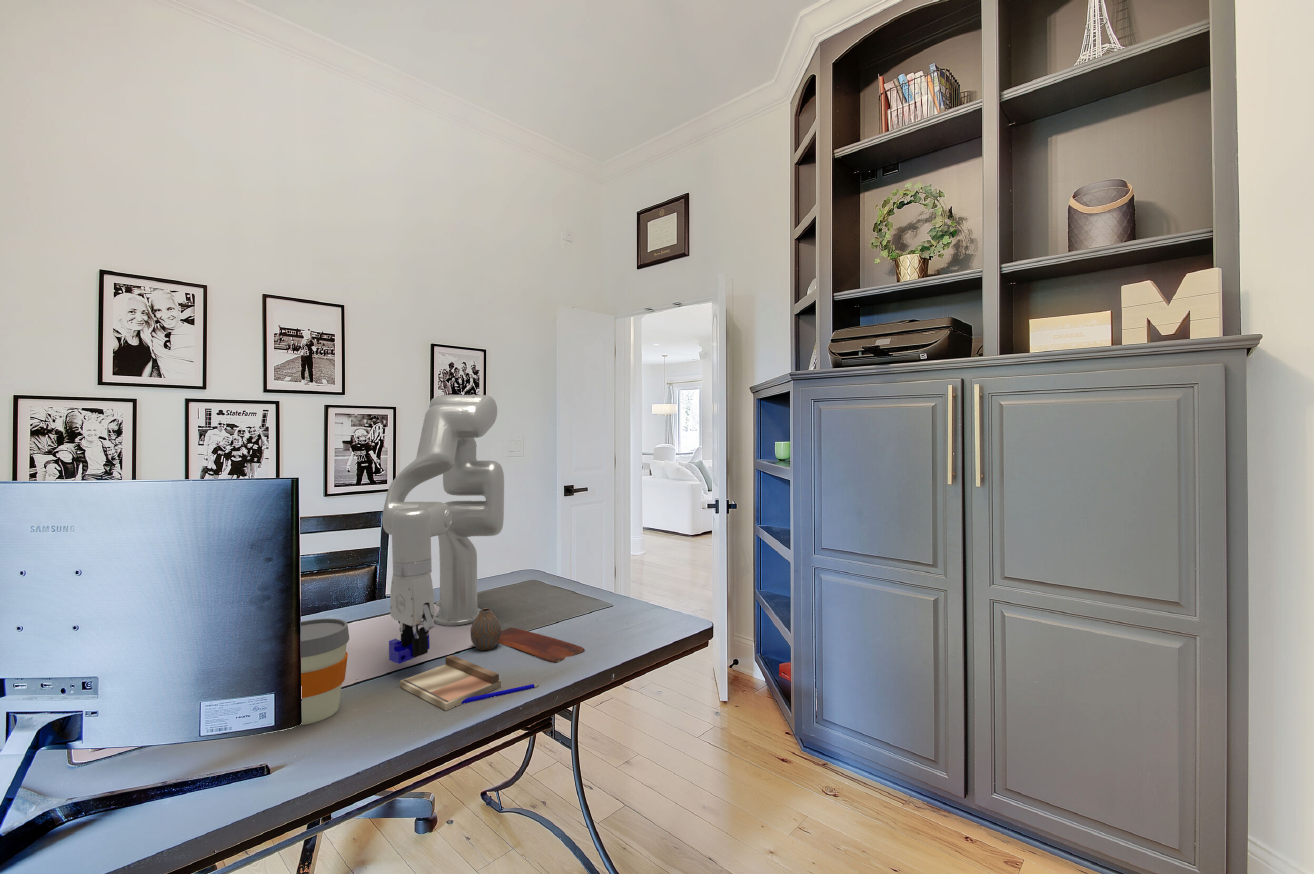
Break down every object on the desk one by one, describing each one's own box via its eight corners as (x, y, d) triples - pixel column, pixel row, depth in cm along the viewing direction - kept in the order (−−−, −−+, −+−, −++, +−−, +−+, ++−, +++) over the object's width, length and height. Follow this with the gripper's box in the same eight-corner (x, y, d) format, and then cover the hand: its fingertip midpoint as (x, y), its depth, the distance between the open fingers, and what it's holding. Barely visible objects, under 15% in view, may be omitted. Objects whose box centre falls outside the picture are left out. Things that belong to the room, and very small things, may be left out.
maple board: (399, 686, 112) (399, 673, 112) (454, 666, 122) (453, 653, 122) (445, 710, 103) (445, 695, 103) (500, 686, 112) (500, 673, 112)
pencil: (448, 708, 104) (448, 703, 104) (448, 706, 105) (448, 700, 105) (539, 688, 112) (539, 683, 112) (538, 686, 113) (538, 681, 113)
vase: (507, 646, 133) (506, 609, 133) (480, 655, 128) (479, 616, 128) (491, 639, 138) (491, 603, 138) (465, 647, 133) (464, 609, 133)
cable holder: (398, 664, 116) (398, 644, 116) (389, 659, 118) (388, 640, 118) (433, 650, 123) (433, 632, 122) (424, 646, 125) (423, 628, 124)
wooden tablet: (587, 652, 131) (587, 645, 131) (554, 667, 123) (554, 659, 123) (515, 628, 147) (515, 621, 147) (481, 639, 139) (481, 632, 139)
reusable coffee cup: (352, 717, 100) (351, 632, 100) (266, 738, 94) (265, 647, 93) (347, 690, 111) (346, 613, 111) (269, 707, 104) (268, 625, 104)
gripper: (375, 564, 122) (377, 648, 123) (416, 578, 112) (419, 669, 113) (408, 557, 128) (410, 637, 129) (450, 569, 118) (452, 656, 119)
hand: (414, 651), depth 121 cm, fingers closed on cable holder, 3 cm apart
